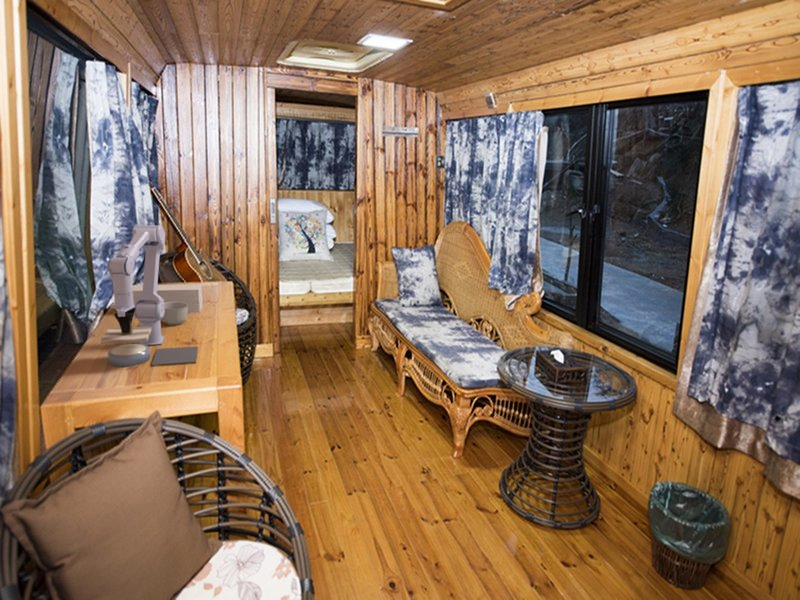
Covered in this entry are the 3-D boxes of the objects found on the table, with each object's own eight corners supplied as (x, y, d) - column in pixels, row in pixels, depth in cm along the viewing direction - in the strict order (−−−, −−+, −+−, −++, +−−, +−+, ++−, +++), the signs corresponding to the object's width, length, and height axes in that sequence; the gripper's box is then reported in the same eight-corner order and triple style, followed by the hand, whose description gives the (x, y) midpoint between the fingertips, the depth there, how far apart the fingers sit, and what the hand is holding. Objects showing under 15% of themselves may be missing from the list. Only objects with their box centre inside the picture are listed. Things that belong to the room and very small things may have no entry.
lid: (108, 331, 200) (107, 317, 198) (152, 328, 204) (150, 315, 202) (100, 344, 187) (99, 329, 185) (146, 341, 191) (145, 327, 189)
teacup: (182, 317, 247) (181, 300, 245) (193, 323, 239) (191, 305, 237) (149, 323, 237) (148, 305, 235) (159, 329, 230) (157, 310, 228)
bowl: (112, 354, 202) (111, 344, 201) (152, 352, 205) (151, 342, 204) (105, 367, 190) (104, 357, 189) (147, 365, 193) (146, 354, 192)
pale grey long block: (123, 314, 249) (120, 290, 246) (129, 308, 259) (126, 285, 256) (199, 312, 255) (198, 289, 253) (202, 306, 265) (201, 284, 263)
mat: (157, 350, 207) (157, 348, 207) (197, 347, 211) (197, 346, 211) (151, 366, 192) (151, 364, 192) (195, 363, 196) (195, 361, 196)
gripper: (114, 287, 197) (117, 325, 200) (105, 298, 183) (110, 338, 187) (136, 287, 199) (139, 324, 202) (129, 297, 185) (133, 337, 189)
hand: (126, 331), depth 195 cm, fingers closed on lid, 3 cm apart
